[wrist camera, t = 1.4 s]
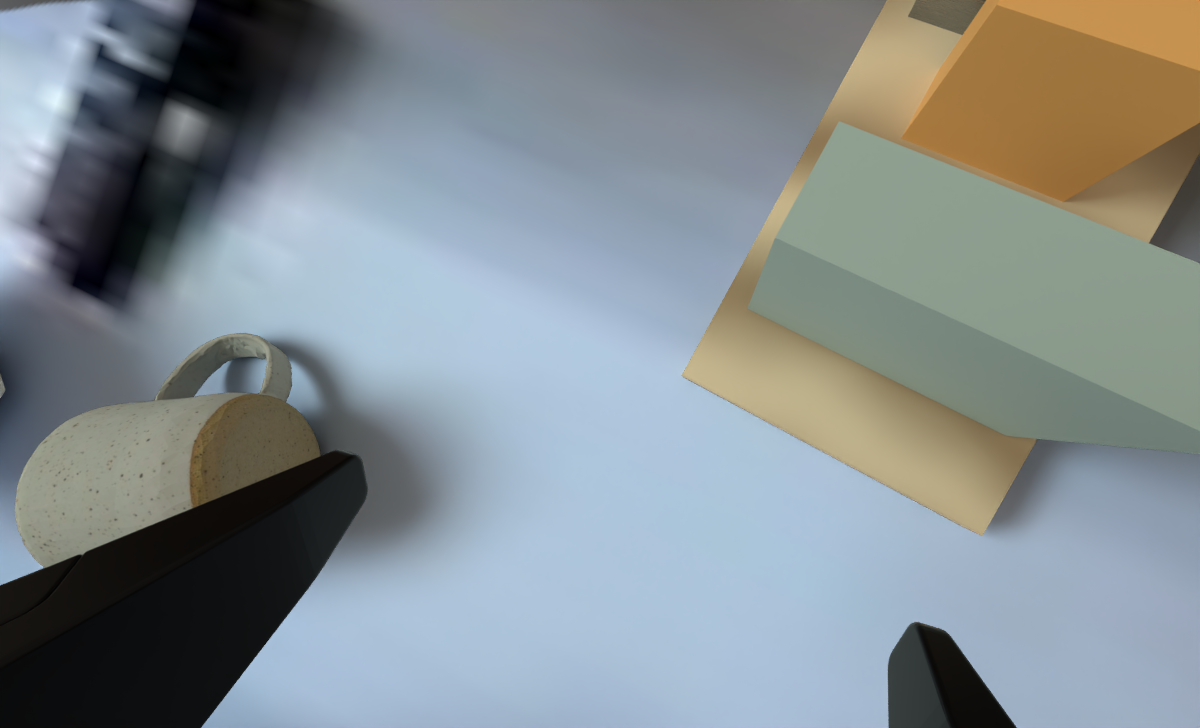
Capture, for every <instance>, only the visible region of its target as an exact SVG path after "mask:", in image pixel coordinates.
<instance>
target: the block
mask: <svg viewBox="0 0 1200 728" xmlns="http://www.w3.org/2000/svg"><path fill="white" fill-rule="evenodd" d="M1198 123H1200V0H986V1H985V3H984V4H983V6H982V7H981V9H980V10H979V12H978V13H977V15H976V16H975V18H974V19H973V21H972V22H971V23H970V25H969V26H968V28H967V29H966V31H965V32H964V34H963V35H962V37H961V38H960V40H959V41H958V43H957V44H956V45H955V47H954V48H953V50H952V51H951V53H950V54H949V56H948V57H947V59H946V60H945V62H944V63H943V64H942V66H941V67H940V69H939V71H938V72H937V74H936V76H935V78H934V80H933V82H932V83H931V85H930V87H929V89H928V91H927V92H926V94H925V96H924V98H923V100H922V101H921V103H920V105H919V107H918V109H917V111H916V112H915V114H914V116H913V118H912V120H911V121H910V123H909V125H908V127H907V129H906V130H905V132H904V134H903V136H902V138H901V139H904V140H906V141H909V142H911V143H914V144H916V145H919V146H922V147H924V148H927V149H929V150H932V151H934V152H937V153H939V154H942V155H945V156H947V157H950V158H952V159H955V160H957V161H960V162H962V163H965V164H968V165H970V166H973V167H975V168H978V169H980V170H983V171H985V172H988V173H990V174H993V175H996V176H998V177H1001V178H1003V179H1006V180H1008V181H1011V182H1013V183H1016V184H1019V185H1021V186H1024V187H1026V188H1029V189H1031V190H1034V191H1036V192H1039V193H1042V194H1044V195H1047V196H1049V197H1052V198H1054V199H1057V200H1059V201H1062V202H1064V201H1066V200H1067V199H1069V198H1071V197H1072V196H1074V195H1076V194H1078V193H1079V192H1081V191H1083V190H1085V189H1086V188H1088V187H1090V186H1091V185H1093V184H1095V183H1097V182H1098V181H1100V180H1102V179H1103V178H1105V177H1107V176H1109V175H1110V174H1112V173H1114V172H1116V171H1117V170H1119V169H1121V168H1122V167H1124V166H1126V165H1128V164H1129V163H1131V162H1133V161H1135V160H1136V159H1138V158H1140V157H1141V156H1143V155H1145V154H1147V153H1148V152H1150V151H1152V150H1153V149H1155V148H1157V147H1159V146H1160V145H1162V144H1164V143H1166V142H1167V141H1169V140H1171V139H1172V138H1174V137H1176V136H1178V135H1179V134H1181V133H1183V132H1184V131H1186V130H1188V129H1190V128H1191V127H1193V126H1195V125H1197V124H1198Z"/></svg>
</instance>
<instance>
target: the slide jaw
mask: <svg viewBox="0 0 1200 728" xmlns="http://www.w3.org/2000/svg"><path fill="white" fill-rule="evenodd" d="M747 309H749V310H751V311H753V312H755V313H757V314H759V315H761V316H763V317H765V318H767V319H769V320H771V321H773V322H775V323H777V324H779V325H781V326H783V327H785V328H787V329H789V330H791V331H793V332H795V333H797V334H800V335H802V336H804V337H806V338H808V339H810V340H812V341H814V342H816V343H818V344H820V345H822V346H824V347H826V348H828V349H830V350H832V351H834V352H836V353H838V354H840V355H842V356H844V357H846V358H848V359H850V360H852V361H854V362H857V363H859V364H861V365H863V366H865V367H867V368H869V369H871V370H873V371H875V372H877V373H879V374H881V375H883V376H885V377H887V378H889V379H891V380H893V381H895V382H897V383H899V384H901V385H903V386H905V387H907V388H909V389H911V390H914V391H916V392H918V393H920V394H922V395H924V396H926V397H928V398H930V399H932V400H934V401H936V402H938V403H940V404H942V405H944V406H946V407H948V408H950V409H952V410H954V411H956V412H958V413H960V414H962V415H964V416H966V417H968V418H970V419H973V420H975V421H977V422H979V423H981V424H983V425H985V426H987V427H989V428H991V429H993V430H995V431H997V432H999V433H1001V434H1003V435H1005V436H1012V437H1023V438H1034V439H1044V440H1055V441H1066V442H1076V443H1087V444H1097V445H1108V446H1119V447H1129V448H1140V449H1151V450H1161V451H1172V452H1182V453H1193V454H1200V263H1197V262H1195V261H1192V260H1190V259H1187V258H1185V257H1182V256H1180V255H1177V254H1174V253H1172V252H1169V251H1167V250H1164V249H1162V248H1159V247H1157V246H1154V245H1152V244H1149V243H1147V242H1144V241H1142V240H1139V239H1136V238H1134V237H1131V236H1129V235H1126V234H1124V233H1121V232H1119V231H1116V230H1114V229H1111V228H1109V227H1106V226H1104V225H1101V224H1098V223H1096V222H1093V221H1091V220H1088V219H1086V218H1083V217H1081V216H1078V215H1076V214H1073V213H1071V212H1068V211H1066V210H1063V209H1060V208H1058V207H1055V206H1053V205H1050V204H1048V203H1045V202H1043V201H1040V200H1038V199H1035V198H1033V197H1030V196H1028V195H1025V194H1022V193H1020V192H1017V191H1015V190H1012V189H1010V188H1007V187H1005V186H1002V185H1000V184H997V183H995V182H992V181H990V180H987V179H984V178H982V177H979V176H977V175H974V174H972V173H969V172H967V171H964V170H962V169H959V168H957V167H954V166H952V165H949V164H946V163H944V162H941V161H939V160H936V159H934V158H931V157H929V156H926V155H924V154H921V153H919V152H916V151H914V150H911V149H908V148H906V147H903V146H901V145H898V144H896V143H893V142H891V141H888V140H886V139H883V138H881V137H878V136H876V135H873V134H870V133H868V132H865V131H863V130H860V129H858V128H855V127H853V126H850V125H848V124H845V123H843V122H840V121H839V122H838V124H837V126H836V128H835V129H834V131H833V133H832V135H831V137H830V139H829V140H828V142H827V144H826V146H825V148H824V150H823V151H822V153H821V155H820V157H819V159H818V160H817V162H816V164H815V166H814V168H813V170H812V171H811V173H810V175H809V177H808V179H807V181H806V182H805V184H804V186H803V188H802V190H801V191H800V193H799V195H798V197H797V199H796V201H795V202H794V204H793V206H792V208H791V210H790V211H789V213H788V215H787V217H786V219H785V221H784V222H783V224H782V226H781V228H780V230H779V232H778V233H777V235H776V237H775V239H774V242H773V244H772V247H771V249H770V252H769V255H768V257H767V260H766V262H765V265H764V267H763V270H762V272H761V275H760V277H759V280H758V282H757V285H756V288H755V290H754V293H753V295H752V298H751V300H750V303H749V305H748V308H747Z"/></svg>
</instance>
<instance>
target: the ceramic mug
mask: <svg viewBox="0 0 1200 728" xmlns="http://www.w3.org/2000/svg"><path fill="white" fill-rule="evenodd" d="M240 357H258V358H260V359H266V360H267V366H266V374H265V378H264V380H263V384H262V389H261V391H260V393H258V394H252V393H220V394H210V395H203V396H197V397H194V396H195V394H196V393H197V391H198V390H199V389H200V387H201V386H202V385H203V383H204V382H205V381H206V380H207V379H208V377H210V376H211V375H212V374H213V373H214V372H215V371H216V370H217V369H219V368H220V367H221V366H222V365H223V364H224V363H226V362H228V361H231V360H233V359H234V358H240ZM291 369H292V368H291V364H290V362H289V359H288V358H287V356H286V355H285V354H284V353H283V352H282V351H281V350H280V349H278V348H276V347H275V346H274V345H272V344H271V343H269V342H268V341H266V340H265V339H263V338H261V337H260V336H257V335H252V334H247V333H237V334H229V335H224V336H221V337H218V338H216V339H213V340H211V341H209V342H207V343H205V344H204V345H202V346H200V347H199V348H197V349H196V350H195V351H193V352H192V353H191V354H190V355H188V356H187V357H186V358H185V359H184V360H183V361H182V362H181V363H180V364H179V365H178V366H177V367H176V369H175V370H174V371H173V372H172V374H171V375H170V376H169V377H168V378H167V379H166V381H165V382H164V383H163V385H162V387H161V389H160V390H159V392H158V394H157V395H156V397H155V399H154V401H147V402H136V403H122V404H116V405H109V406H104V407H100V408H96V409H93V410H90V411H87V412H85V413H83V414H80V415H78V416H76V417H73V418H71V419H69V420H67V421H66V422H64V423H63V424H62V425H60V426H59V427H58V428H56V429H55V430H54V431H53V432H52V433H51V434H50V435H49V436H47V437H46V438H45V439H44V440H43V441H42V442H41V443H40V444H39V446H38V447H37V449H36V450H35V452H34V453H33V454H32V456H31V457H30V459H29V460H28V462H27V464H26V465H25V467H24V469H23V472H22V475H21V477H20V480H19V482H18V486H17V491H16V492H17V496H16V501H15V516H16V522H17V527H18V531H19V533H20V535H21V537H22V540H23V543H24V545H25V547H26V548H27V550H28V551H29V552H30V554H31V555H32V556H33V557H34V559H35V560H36V561H37V562H38V563H40V564H41V565H42V566H43V567H45V568H46V567H48V566H51V565H53V564H56V563H58V562H61V561H63V560H66V559H68V558H71V557H73V556H75V555H78V554H82V555H83V554H84V553H85V552H86V551H88V550H90V549H93V548H95V547H98V546H100V545H103V544H105V543H108V542H110V541H113V540H115V539H118V538H120V537H122V536H125V535H127V534H130V533H132V532H135V531H137V530H140V529H142V528H145V527H147V526H150V525H152V524H155V523H157V522H159V521H162V520H164V519H167V518H169V517H172V516H174V515H177V514H179V513H182V512H184V511H187V510H189V509H191V508H194V507H196V506H199V505H201V504H204V503H206V502H209V501H211V500H214V499H216V498H218V497H221V496H223V495H226V494H228V493H231V492H233V491H236V490H238V489H241V488H243V487H246V486H248V485H250V484H253V483H255V482H258V481H260V480H263V479H265V478H268V477H270V476H273V475H275V474H277V473H280V472H282V471H285V470H287V469H290V468H292V467H295V466H297V465H300V464H302V463H304V462H307V461H309V460H312V459H314V458H317V457H319V456H321V455H320V450H319V445H318V442H317V440H316V437H315V435H314V433H313V430H312V429H311V427H310V426H309V424H308V423H307V421H306V420H305V418H304V417H303V416H302V415H301V414H300V413H299V412H298V411H297V410H296V409H295V408H294V407H292V406H291V405H289V404H287V403H286V402H287V398H288V397H289V394H290V390H291V387H292V378H291V376H292V372H291Z"/></svg>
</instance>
